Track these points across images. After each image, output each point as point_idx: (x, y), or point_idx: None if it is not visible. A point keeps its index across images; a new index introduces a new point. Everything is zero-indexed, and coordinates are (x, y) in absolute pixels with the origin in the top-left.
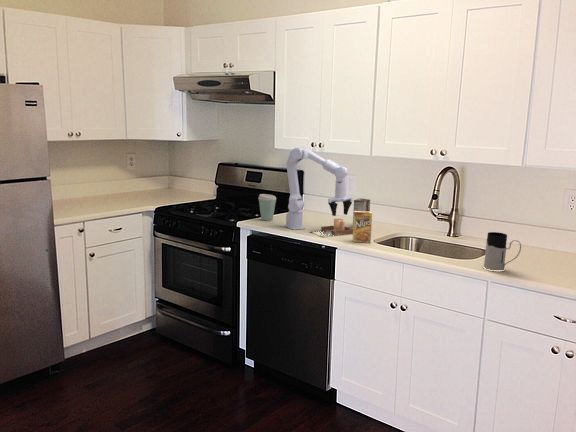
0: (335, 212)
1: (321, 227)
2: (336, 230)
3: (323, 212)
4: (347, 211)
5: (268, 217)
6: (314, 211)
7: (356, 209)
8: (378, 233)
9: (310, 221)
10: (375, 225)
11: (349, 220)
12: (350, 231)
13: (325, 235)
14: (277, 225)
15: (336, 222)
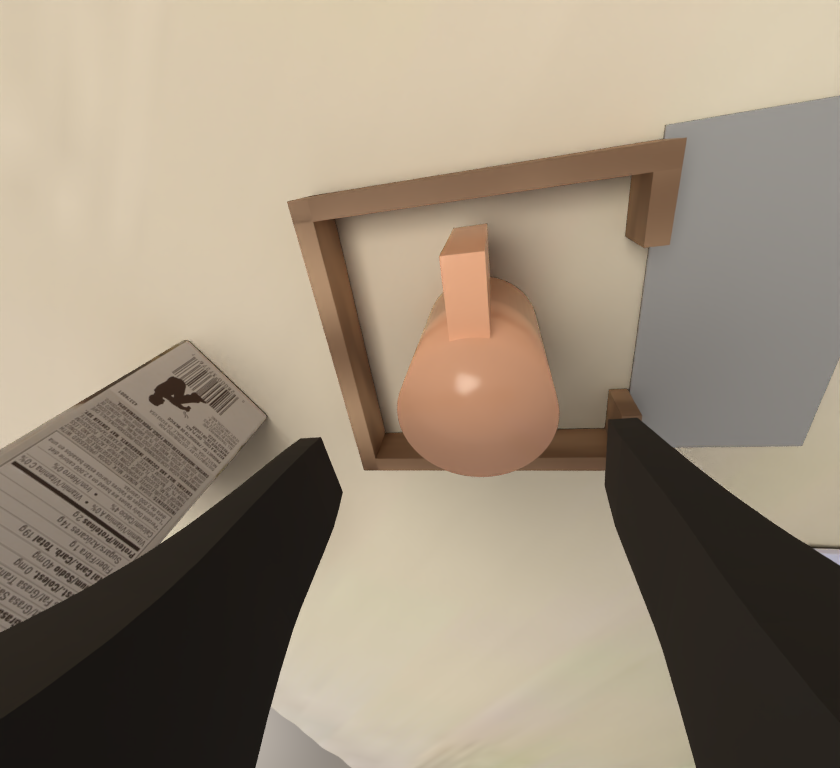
0: (668, 463)
1: None
2: (528, 308)
3: (312, 732)
4: (264, 476)
5: None
6: (349, 753)
7: (66, 568)
8: (25, 133)
9: (489, 662)
10: None
11: None
12: (376, 186)
13: (785, 193)
14: None
15: (544, 359)
